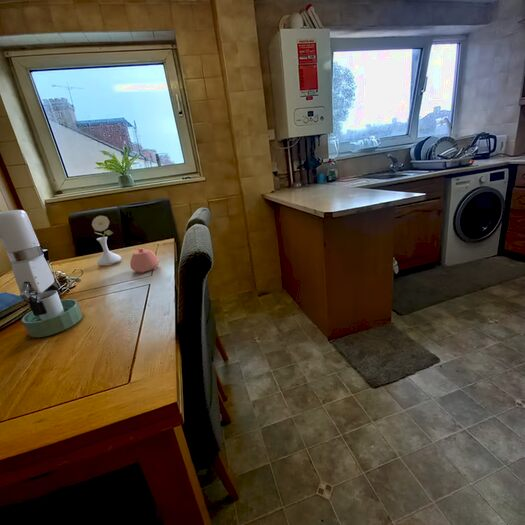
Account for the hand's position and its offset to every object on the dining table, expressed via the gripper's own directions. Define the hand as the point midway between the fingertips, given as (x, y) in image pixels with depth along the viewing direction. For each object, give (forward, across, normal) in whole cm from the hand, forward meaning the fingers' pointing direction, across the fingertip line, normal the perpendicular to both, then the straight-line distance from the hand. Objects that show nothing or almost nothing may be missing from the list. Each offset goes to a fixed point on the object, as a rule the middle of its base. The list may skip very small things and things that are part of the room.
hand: (49, 306), depth 85 cm
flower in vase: (+7, -61, +1) cm, 61 cm away
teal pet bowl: (+7, 0, 0) cm, 7 cm away
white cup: (+6, 0, 0) cm, 6 cm away
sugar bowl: (+7, -41, +21) cm, 47 cm away
